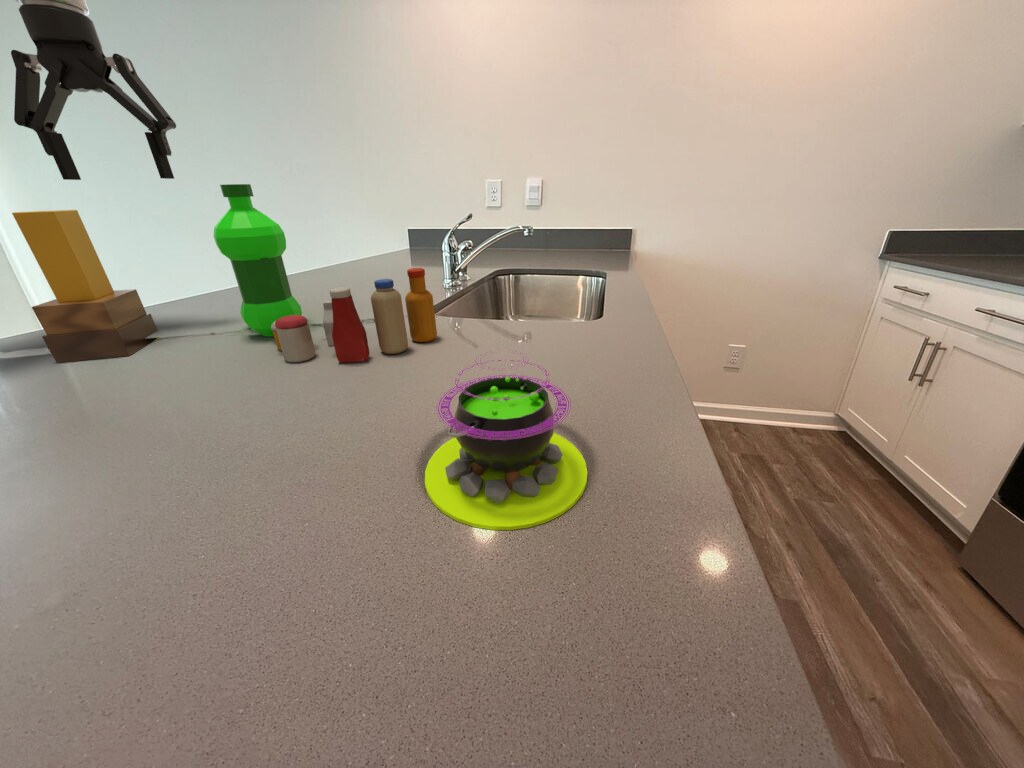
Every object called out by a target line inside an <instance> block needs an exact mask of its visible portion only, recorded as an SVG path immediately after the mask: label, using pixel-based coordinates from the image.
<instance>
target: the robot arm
mask: <svg viewBox="0 0 1024 768" xmlns="http://www.w3.org/2000/svg"><path fill="white" fill-rule="evenodd" d="M15 1H16V2H17V3H18V4H19V5H20V6H19V8H18V12H19V13H20V16H21V19H22V22H23V24H24V26H25V28H26V31H27V33H28V35H29V37H30V39H31V41H32V42H33V43H34V46H35V47H36V54H32V53H26V52H23V51H20V50H17V49H11V51H10V55H11V58H12V62H13V64H14V67H15V82H14V83H15V85H14V113H13V120H14V123H15V124H16V125H18V126H19V127H23V128H27V129H30V130H33V131H34V132H35V133H36V135H37V136H38V139H39V141H40V143H41V145H42V148H43V150H44V153H46V154H47V156H49V157H50V156H51V157H52V158H53V159H54V162H55V164H56V166H57V169H58V171H59V173H60V175H61V177H62V180H65V181H66V180H67V181H68V180H69V181H81V180H82V178H81V176H80V173H79V171H78V169H77V167H76V164H75V162H74V159H73V157H72V155H71V152H70V150H69V148H68V146H67V143H66V141H65V138H64V135H63V134H62V133H59V132H58V131H56V130H55V128H56V126H57V124H58V122H59V119H60V117H61V114H62V112H63V110H64V107H65V105H66V102H67V100H68V98H69V96H71V95H72V94H73V92H74V91H75V92H78V93H87V92H93V93H103V92H104V93H106V94H107V95H109V96H110V97H111V98H112V99H114V100H115V101H116V102H117V103H118V104H119V105H120V106H121V107H123V108H124V109H125V110H126V111H127V112H128V113H129V114H131V115H132V116H133V117H134V118H135V119H136V120H138V121H139V122H140V123H141V124H142V125H143V126H145V127H146V128H147V131H144V135H145V138H146V141H147V143H148V146H149V149H150V152H151V154H152V158H153V160H154V163H155V167H156V169H157V172H158V175H159V178H160V179H167V180H169V179H171V180H172V179H175V176H174V173H173V170H172V167H171V164H170V162H169V161H170V160H169V159H168V157H171V156H172V150H171V147H170V144H169V141H168V138H167V132H169V131H171V130H175V129H176V128H177V123H176V122H175V120H174V119H173V118H172V117H171V115H170V114H169V113H168V112H167V111H166V109H165V108H164V106H162V104H161V103H160V102H159V100H158V99H157V98H156V97H155V96H154V94H153V93H152V92H151V90H150V88H148V87H147V86H146V84H145V83H144V82H143V81H142V79H141V77H140V76H139V75H138V73H137V71H136V68H135V66H134V64H133V61H132V60H131V59H130V58H128V57H125V56H123V55H121V54H119V53H113V54H112V55H111V56H106V55H105V54H104V52H103V46H102V43H101V40H100V37H99V34H98V32H97V29H96V27H95V24H94V23H95V22H94V21H93V20H91V19H90V17H89V14H90V9H89V7H88V5H87V1H86V0H15ZM42 67H43V68H44V69H45V70H46V71H47V75H46V78H45V80H44V85H45V88H44V90H43V92H42V94H41V95H42V96H41V98H40V93H41V92H40V91H41V74H40V73H41V72H43V68H42ZM112 70H114V71H115V73H117V74H119V75H120V76H121V77H122V79H123V80H124V81H125V83H126V84H127V85H128V86H129V88H131V90H132V91H133V92H134V93H135V95H136V96H137V98H138V99H139V100H140V102H142V104H143V105H144V106H145V107H146V108H147V110H148V111H149V112H150V113H151V114H152V115H151V114H149V112H147V111H146V110H145V109H144V108H143V107H142V106H141V105H140V104H138V103H137V102H136V101H135V100H134V99H133V98H132V97H130V96H129V95H128V94H127V93H126V92H125V91H124V90H123V89H122V88H121V86H119V85H118V84H117V83H116V82H115V81H114V80H112V79H111V78H110V77H111V73H112Z"/></svg>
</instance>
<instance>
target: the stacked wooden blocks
mask: <svg viewBox="0 0 1024 768" xmlns="http://www.w3.org/2000/svg"><path fill="white" fill-rule="evenodd" d="M31 310H32V311H33V313H34V315H35V316H36V318H37V320H38V322H39V324H40V325H41V327H42V329H43V331H44V333H45V335H42V336H41V338H42V339H43V341H44V343H45V345H46V347H47V348H48V350H49V352H50V353H51V355H52V357H53V359H54V361H55V363H56V364H61V363H62V364H63V363H71V362H72V363H73V362H80V361H81V362H82V361H83V362H84V361H92V360H103V359H113V358H122V357H130V356H132V355H133V354H135V353H136V352H139V351H140V350H141V349H143V348H145V347H146V346H148V345H150V344H151V343H153V342H154V341H156V340H158V339H159V338H160V337H158V336H157V337H150V336H151V335H153V334H155V333H157V332H158V331H159V330H158V328H157V325H156V323H155V320H154V318H153V316H152V313H147V311H146V309H145V307H144V304H143V302H142V300H141V297H140V295H139V292H138V290H137V289H136V288H134V289H119V290H114V293H112V294H110V295H107V296H104V297H101V298H99V299H96V300H84V301H70V302H58V301H57V299H56V298H55V299H52V300H49V301H46V302H42V303H40V304H36V305H34V306H31Z"/></svg>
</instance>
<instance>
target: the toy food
mask: <svg viewBox="0 0 1024 768" xmlns="http://www.w3.org/2000/svg"><path fill="white" fill-rule="evenodd" d="M406 273H407V277H408V282H409V288H410V291H408V292H407V293H406V295H405V297H404V302H405V308H406V315H407V321H408V322H407V323H408V327H409V328H408V329H409V335H410V338H411V340H413V341H414V342H417V343H428V342H431V341H434V340H435V339H436V337H437V336H438V329H437V321H436V312H435V306H434V305H435V303H434V298H433V294H432V293H431V292H430V291H429V290H427V286H426V277H425V276H426V271H425V268H422V267H412V268H408V269H407V271H406ZM373 283H374V288H375V290H374V291H373V292H372V293H371V296H370V302H371V307H372V313H373V318H374V325H375V329H376V335H377V340H378V347H379V349H380V351H381V352H382V353H384V354H387V355H396V354H397V355H398V354H400V353H403V352H405V351H406V350H407V349H408V347H409V340H408V333H407V327H406V320H405V314H404V307H403V301H402V295H401V293H400V291H398V290H397V289H395V288H394V286H395V284H394V280H393V279H391V278H380V279H376V280H374V281H373ZM329 294H330V296H329V297H330V298H331V300H325V301H323V302H322V305H323V317H322V326H323V330H324V335H325V338H326V342H327V345H328V346H330V347H331V346H332V347H334V352H335V355H336V359H337V361H338V362H339V363H343V364H346V363H347V364H348V363H349V364H350V363H351V364H352V363H364V362H366V361H367V360H368V359H369V357H370V348H369V341H368V337H367V331H366V328H365V326H364V324H363V322H362V320H361V317H360V316H359V313H358V311H357V309H356V306H355V302H354V299H353V296H352V293H351V288H350V287H346V286H344V287H343V286H341V287H334V288H331V289H329ZM308 322H309V320H308V319H307V318H306V317H305V316H304V315H290V316H284V317H281V318H279V319H278V320H277V321H275V322H273V323H272V325H271V329H272V331H273V335H274V336H273V338H274V341H275V345H276V348H277V349H278V351H281V352H282V355H283V358H284V360H285V362H288V363H301V362H305V361H309V360H311V359H313V358H314V357H315V356H316V354H317V353H316V349H315V344H314V341H313V337H312V333H311V328H310V325H309V323H308Z"/></svg>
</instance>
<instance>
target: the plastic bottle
mask: <svg viewBox="0 0 1024 768" xmlns="http://www.w3.org/2000/svg"><path fill="white" fill-rule="evenodd" d="M219 187H220V190H221V193H222V196H223V198H227V200H228V204H229V207H230V208H229V209H228V210H227V211H226V212H225V214H224V215H223V216H222V217H221V218H220V220H219V221H218V222H217V223H216V225H215V226H214V227H213V239H214V242H215V245H216V247H217V248H218V250H219V253H220V254H222V255H223V256H225V257H226V258H228V259H229V260H230V264H231V268H232V270H233V273H234V277H235V279H236V282H237V283H236V284H237V286H238V290H239V292H240V295H241V298H242V302H241V305H240V315H241V319H242V320H243V322H244V323H245V324H246V326H248V328H249V329H251V330H252V331H254V332H256V333H257V334H259V335H262V336H263V337H270V338H271V337H274V335H273V331H272V329H271V325H272V323H273V322H275V321H277V320H278V319H279V318H281V317H284V316H290V315H301V316H303V315H302V314H303V311H302V307H301V305H300V304H299V302H298V300H297V299H296V298H295V297H294V296H293V294H292V291H291V287H290V282H289V279H288V274H287V271H286V267H285V264H284V260H283V254H284V253H285V251H286V250H287V239H286V235H285V231H284V230H283V229H282V227H281V226H280V224H278V223H277V222H276V221H275V220H273V219H272V218H270V217H269V216H267V215H266V214H265V213H263V212H261V211H260V210H258V209H257V208H255V207H254V206H253V201H252V198H251V197H254V193H253V189H252V185H251V183H244V184H243V183H240V184H239V183H237V184H232V183H231V184H219Z"/></svg>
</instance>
